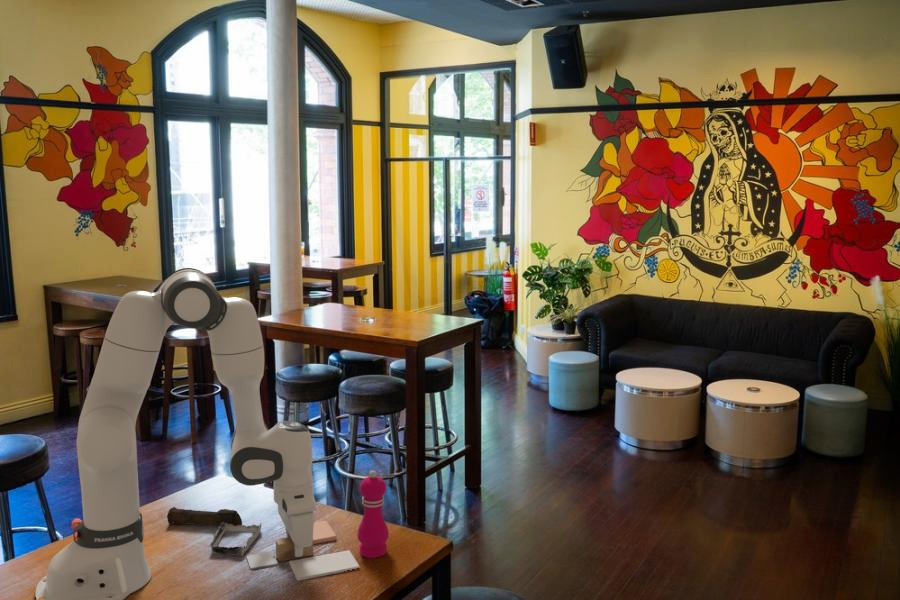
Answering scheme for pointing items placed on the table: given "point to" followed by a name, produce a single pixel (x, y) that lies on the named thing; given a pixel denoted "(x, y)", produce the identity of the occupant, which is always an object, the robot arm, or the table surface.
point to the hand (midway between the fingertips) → (294, 548)
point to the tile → (322, 532)
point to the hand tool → (204, 517)
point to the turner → (277, 554)
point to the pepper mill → (373, 518)
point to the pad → (323, 565)
